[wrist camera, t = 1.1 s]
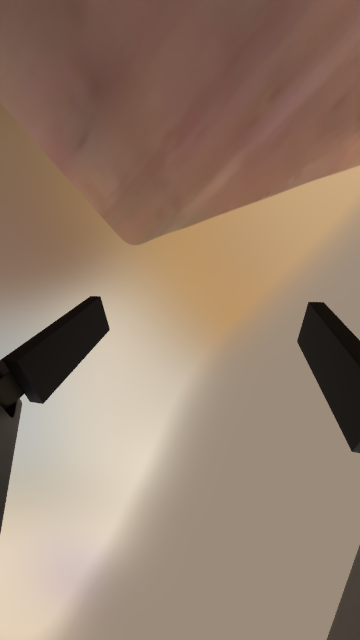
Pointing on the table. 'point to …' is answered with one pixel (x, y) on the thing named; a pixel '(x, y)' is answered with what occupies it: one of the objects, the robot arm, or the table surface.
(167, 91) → the table surface
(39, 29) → the table surface
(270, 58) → the table surface
